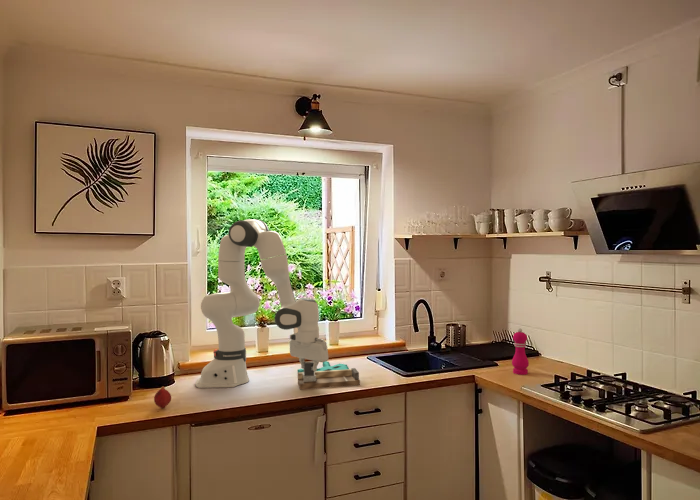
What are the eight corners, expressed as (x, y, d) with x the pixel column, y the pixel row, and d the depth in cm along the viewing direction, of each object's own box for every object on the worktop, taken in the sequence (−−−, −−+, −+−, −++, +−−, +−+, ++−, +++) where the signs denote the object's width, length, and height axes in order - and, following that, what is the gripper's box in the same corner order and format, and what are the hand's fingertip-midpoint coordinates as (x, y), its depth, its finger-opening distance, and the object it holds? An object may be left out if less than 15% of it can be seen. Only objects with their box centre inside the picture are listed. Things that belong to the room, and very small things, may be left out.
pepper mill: (511, 374, 230) (510, 329, 229) (512, 370, 236) (512, 326, 236) (528, 375, 227) (528, 330, 227) (529, 371, 234) (528, 327, 233)
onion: (161, 412, 186) (160, 389, 186) (151, 409, 189) (150, 387, 189) (174, 407, 191) (174, 385, 191) (164, 405, 194) (163, 383, 194)
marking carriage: (303, 382, 214) (303, 364, 214) (302, 378, 220) (302, 361, 220) (317, 381, 215) (316, 363, 215) (315, 377, 221) (315, 360, 221)
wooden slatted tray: (300, 389, 212) (299, 377, 212) (297, 382, 222) (297, 371, 222) (360, 385, 217) (359, 373, 216) (355, 378, 226) (354, 367, 226)
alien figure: (297, 374, 237) (331, 381, 225) (297, 369, 237) (331, 376, 225) (325, 365, 253) (358, 371, 241) (325, 361, 253) (358, 366, 241)
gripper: (331, 338, 212) (332, 372, 213) (298, 333, 226) (298, 364, 227) (320, 340, 208) (320, 375, 208) (286, 335, 222) (287, 367, 222)
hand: (309, 369), depth 217 cm, fingers open, 5 cm apart
